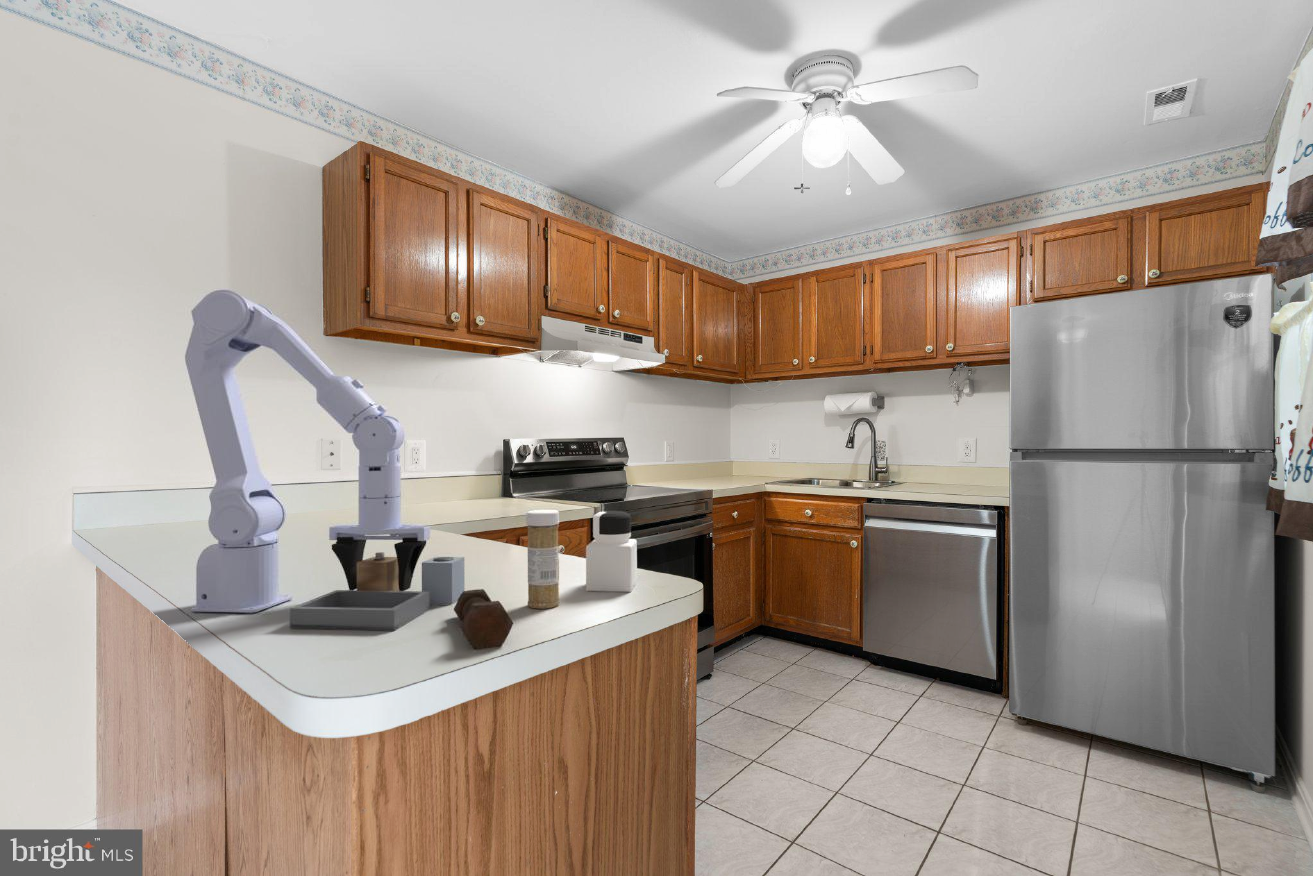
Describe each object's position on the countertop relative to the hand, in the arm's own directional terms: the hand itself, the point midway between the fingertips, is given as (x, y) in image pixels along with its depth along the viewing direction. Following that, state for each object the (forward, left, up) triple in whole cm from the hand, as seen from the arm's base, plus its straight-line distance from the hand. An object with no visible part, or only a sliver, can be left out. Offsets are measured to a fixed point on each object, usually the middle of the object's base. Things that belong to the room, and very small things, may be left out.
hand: (379, 589), depth 91 cm
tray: (+3, -10, -2) cm, 10 cm away
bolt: (+20, -13, -2) cm, 24 cm away
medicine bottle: (+33, +10, -2) cm, 35 cm away
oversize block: (+10, 0, -2) cm, 10 cm away
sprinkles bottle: (+25, -2, -2) cm, 25 cm away
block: (0, 0, -2) cm, 2 cm away
